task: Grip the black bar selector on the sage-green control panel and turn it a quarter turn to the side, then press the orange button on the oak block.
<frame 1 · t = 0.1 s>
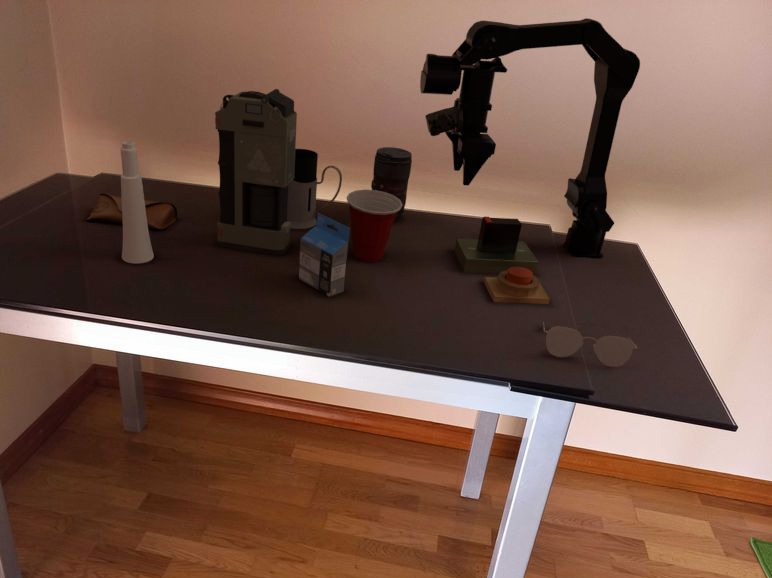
hand: (461, 177, 138), 15 cm above the table, tool pointing down, fingers open, 9 cm apart
sunglasses case: (131, 220, 150), on the table
selector: (499, 234, 136), point 6 cm above the table, hinge at 0.0°
plastic cup: (368, 257, 139), on the table
glass holder: (308, 224, 153), on the table
start button: (519, 276, 126), point 4 cm above the table, slide at 0.2 cm
cosmetic bottle: (138, 258, 134), on the table
button block: (515, 293, 128), on the table
device: (254, 246, 141), on the table
camera lens: (386, 218, 158), on the table
ink cartridge box: (320, 286, 127), on the table
sunglasses: (582, 349, 112), on the table
control panel: (493, 263, 139), on the table
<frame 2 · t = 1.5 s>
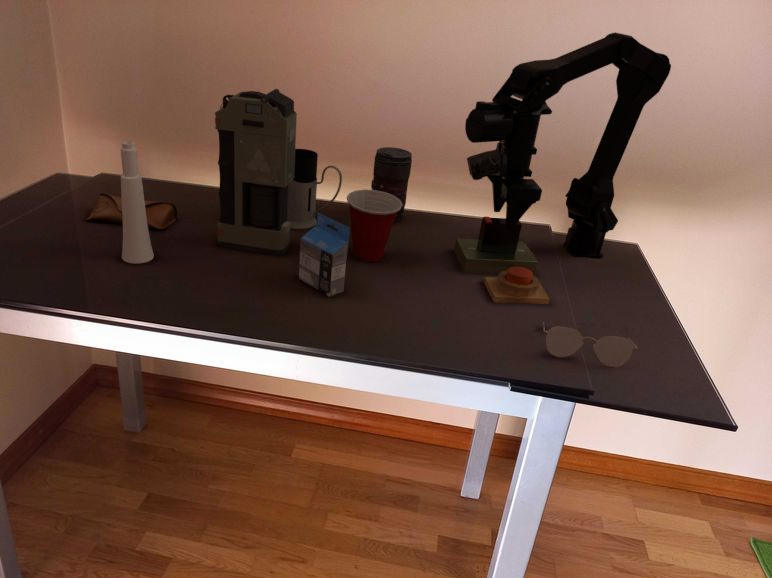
hand: (502, 220, 135), 9 cm above the table, tool pointing down, fingers open, 9 cm apart
nothing on the table moved.
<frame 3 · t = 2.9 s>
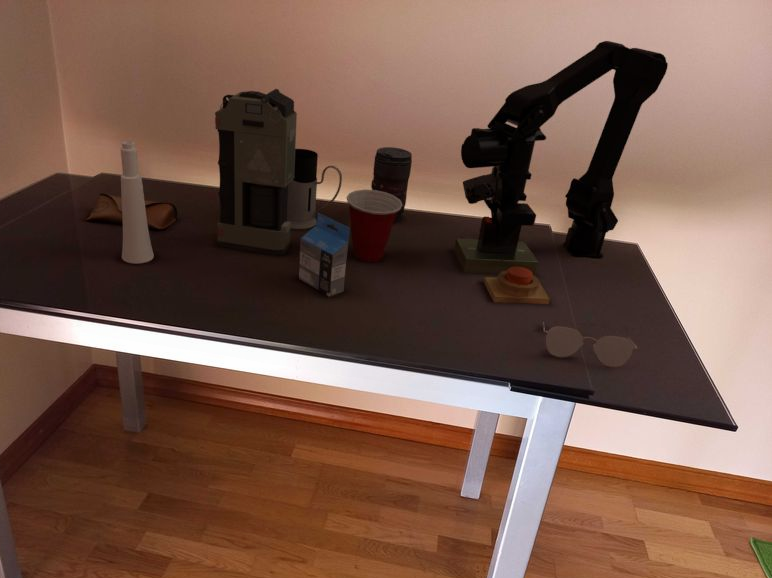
hand: (497, 242, 137), 5 cm above the table, tool pointing down, fingers closed on selector, 3 cm apart
selector: (499, 234, 136), point 6 cm above the table, hinge at 0.0°, touching gripper
everything else where it was.
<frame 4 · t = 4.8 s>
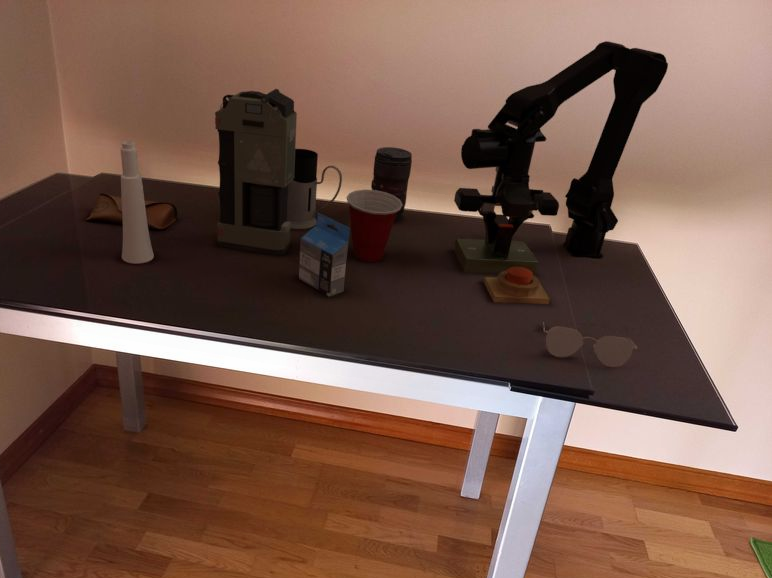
hand: (497, 243, 137), 4 cm above the table, tool pointing down, fingers closed on selector, 3 cm apart
selector: (499, 234, 136), point 6 cm above the table, hinge at 89.8°, touching gripper
everything else where it was.
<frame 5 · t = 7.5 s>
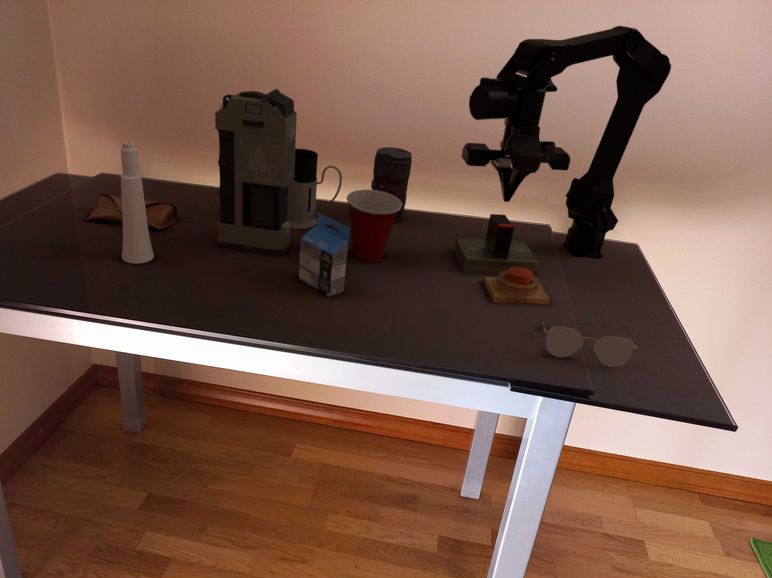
hand: (506, 201, 132), 13 cm above the table, tool pointing down, fingers closed
selector: (499, 234, 136), point 6 cm above the table, hinge at 89.8°
everything else where it was.
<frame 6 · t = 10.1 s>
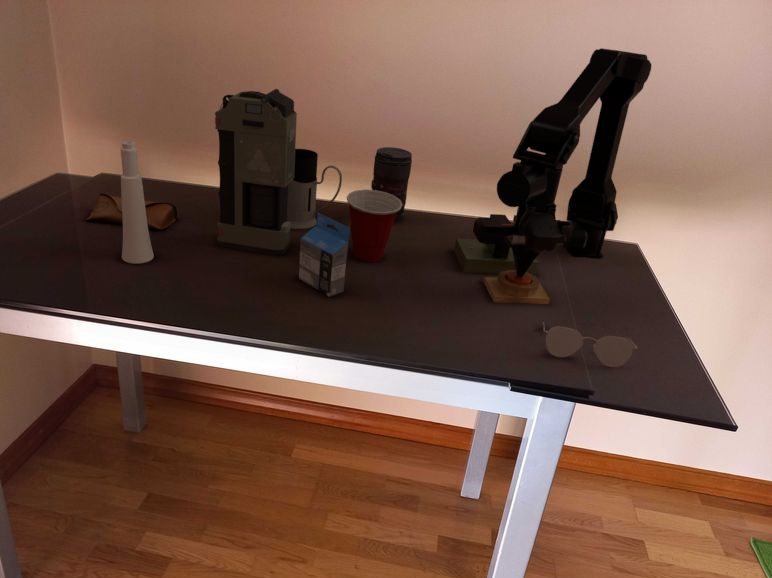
hand: (519, 276, 126), 3 cm above the table, tool pointing down, fingers closed, pressing on start button
start button: (518, 280, 127), point 3 cm above the table, slide at -0.8 cm, touching gripper
everything else where it was.
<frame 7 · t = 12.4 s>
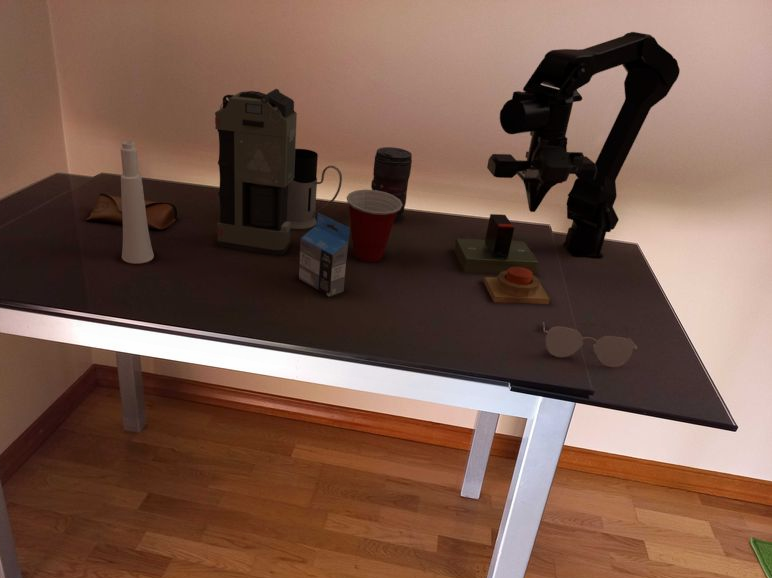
hand: (532, 211, 132), 12 cm above the table, tool pointing down, fingers closed
start button: (519, 276, 126), point 4 cm above the table, slide at 0.2 cm
everything else where it was.
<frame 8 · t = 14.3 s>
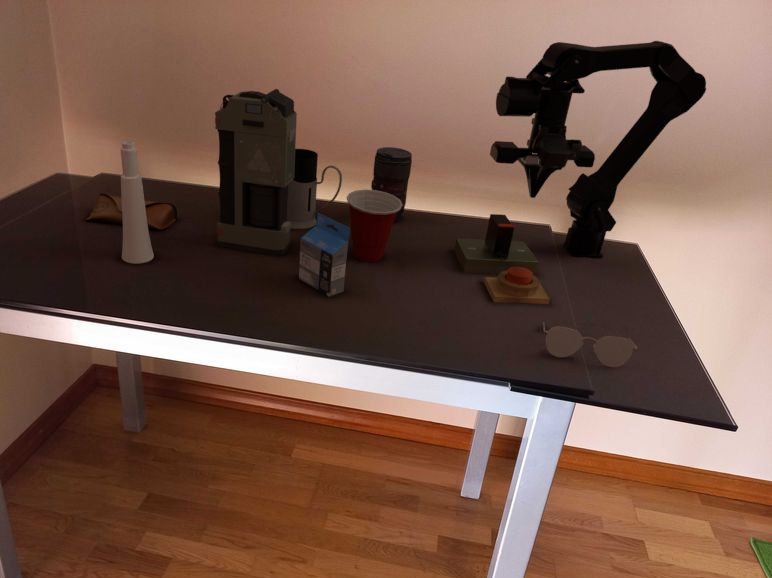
hand: (532, 197, 138), 12 cm above the table, tool pointing down, fingers closed
nothing on the table moved.
at the end: selector at +90° (first picture: +0°); start button pushed in 1.1 cm at the most during the clip, back to 0.2 cm at the end; start button slide at 0.2 cm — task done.
